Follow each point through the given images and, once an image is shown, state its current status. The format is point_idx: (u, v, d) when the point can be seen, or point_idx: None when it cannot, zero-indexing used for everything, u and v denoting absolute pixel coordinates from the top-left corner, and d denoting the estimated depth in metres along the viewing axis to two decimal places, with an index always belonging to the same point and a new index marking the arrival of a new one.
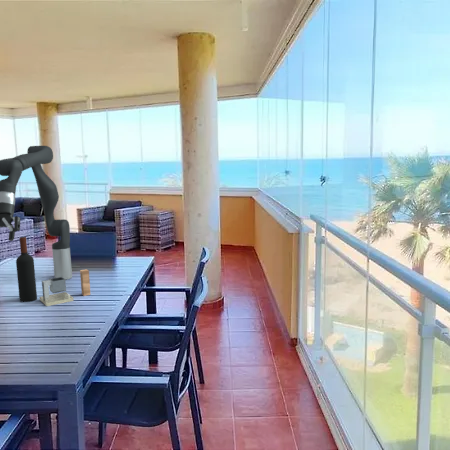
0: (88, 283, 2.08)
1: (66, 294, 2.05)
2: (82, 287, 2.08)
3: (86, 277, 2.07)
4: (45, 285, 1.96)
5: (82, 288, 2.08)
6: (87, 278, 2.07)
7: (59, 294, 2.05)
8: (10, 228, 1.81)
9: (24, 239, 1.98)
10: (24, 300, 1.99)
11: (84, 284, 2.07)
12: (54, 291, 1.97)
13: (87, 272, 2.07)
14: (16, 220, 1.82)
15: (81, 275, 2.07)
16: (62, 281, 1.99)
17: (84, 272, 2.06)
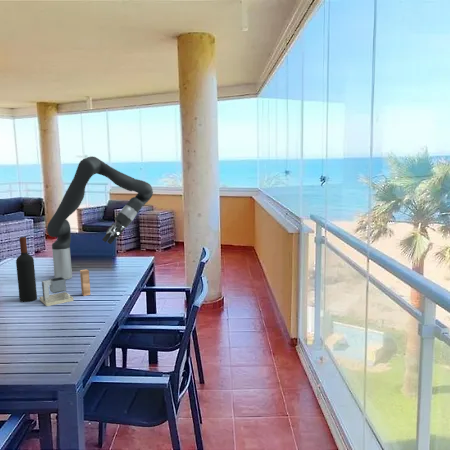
0: (88, 283, 2.08)
1: (66, 294, 2.05)
2: (82, 287, 2.08)
3: (86, 277, 2.07)
4: (45, 285, 1.96)
5: (82, 288, 2.08)
6: (87, 278, 2.07)
7: (59, 294, 2.05)
8: None
9: (24, 239, 1.98)
10: (24, 300, 1.99)
11: (84, 284, 2.07)
12: (54, 291, 1.97)
13: (87, 272, 2.07)
14: None
15: (81, 275, 2.07)
16: (62, 281, 1.99)
17: (84, 272, 2.06)
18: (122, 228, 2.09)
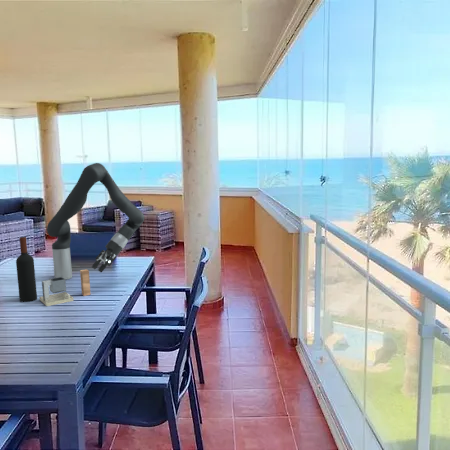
0: (88, 283, 2.08)
1: (66, 294, 2.05)
2: (82, 287, 2.08)
3: (86, 277, 2.07)
4: (45, 285, 1.96)
5: (82, 288, 2.08)
6: (87, 278, 2.07)
7: (59, 294, 2.05)
8: None
9: (24, 239, 1.98)
10: (24, 300, 1.99)
11: (84, 284, 2.07)
12: (54, 291, 1.97)
13: (87, 272, 2.07)
14: None
15: (81, 275, 2.07)
16: (62, 281, 1.99)
17: (84, 272, 2.06)
18: (114, 257, 2.09)
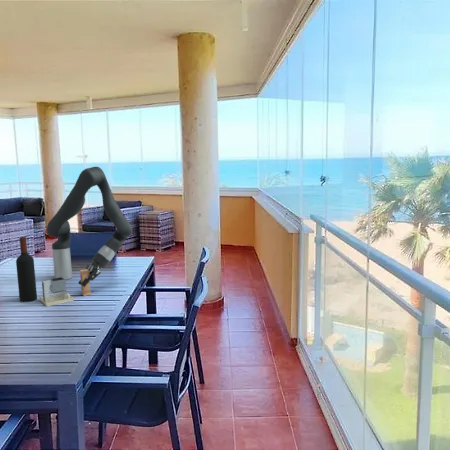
0: (88, 283, 2.08)
1: (66, 294, 2.05)
2: (82, 287, 2.08)
3: None
4: (45, 285, 1.96)
5: (82, 288, 2.08)
6: None
7: (59, 294, 2.05)
8: None
9: (24, 239, 1.98)
10: (24, 300, 1.99)
11: None
12: (54, 291, 1.97)
13: (87, 272, 2.07)
14: None
15: (81, 275, 2.07)
16: (62, 281, 1.99)
17: (84, 272, 2.06)
18: (97, 273, 2.05)
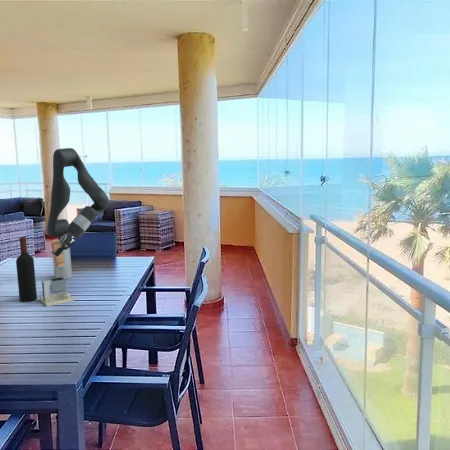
0: (61, 254, 1.99)
1: (66, 294, 2.05)
2: (55, 258, 1.99)
3: None
4: (45, 285, 1.96)
5: (55, 259, 1.99)
6: None
7: (59, 294, 2.05)
8: None
9: (24, 239, 1.98)
10: (24, 300, 1.99)
11: None
12: (54, 291, 1.97)
13: (58, 242, 1.97)
14: None
15: (52, 246, 1.97)
16: (62, 281, 1.99)
17: (55, 243, 1.96)
18: (71, 242, 1.96)
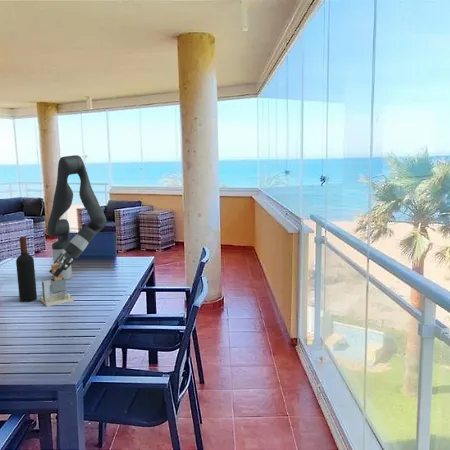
0: (60, 277, 2.00)
1: (66, 294, 2.05)
2: None
3: None
4: (45, 285, 1.96)
5: None
6: None
7: (59, 294, 2.05)
8: None
9: (24, 239, 1.98)
10: (24, 300, 1.99)
11: (56, 278, 1.98)
12: (54, 291, 1.97)
13: (58, 266, 1.99)
14: None
15: (52, 269, 1.98)
16: (62, 281, 1.99)
17: (55, 266, 1.98)
18: (71, 261, 1.97)
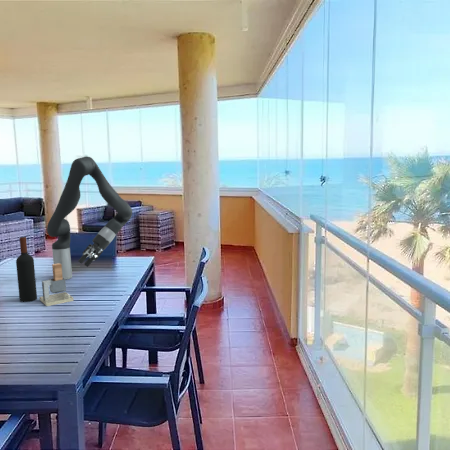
0: (61, 277, 2.00)
1: (66, 294, 2.05)
2: None
3: (59, 271, 1.99)
4: (45, 285, 1.96)
5: None
6: (60, 272, 1.99)
7: (59, 294, 2.05)
8: None
9: (24, 239, 1.98)
10: (24, 300, 1.99)
11: (57, 278, 1.99)
12: (54, 291, 1.97)
13: (60, 266, 1.99)
14: None
15: (53, 269, 1.99)
16: (62, 281, 1.99)
17: (56, 266, 1.98)
18: (100, 251, 2.05)
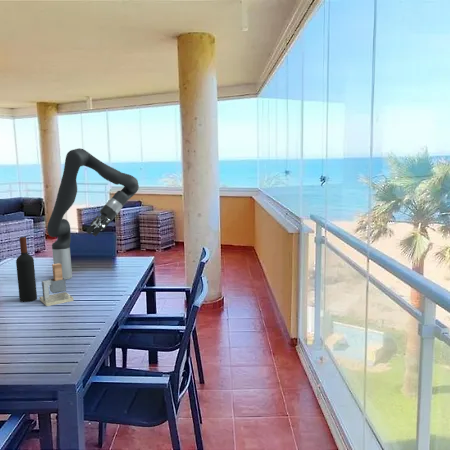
0: (61, 277, 2.00)
1: (66, 294, 2.05)
2: None
3: (59, 271, 1.99)
4: (45, 285, 1.96)
5: None
6: (60, 272, 1.99)
7: (59, 294, 2.05)
8: None
9: (24, 239, 1.98)
10: (24, 300, 1.99)
11: (57, 278, 1.99)
12: (54, 291, 1.97)
13: (60, 266, 1.99)
14: None
15: (53, 269, 1.99)
16: (62, 281, 1.99)
17: (56, 266, 1.98)
18: (108, 221, 2.10)
